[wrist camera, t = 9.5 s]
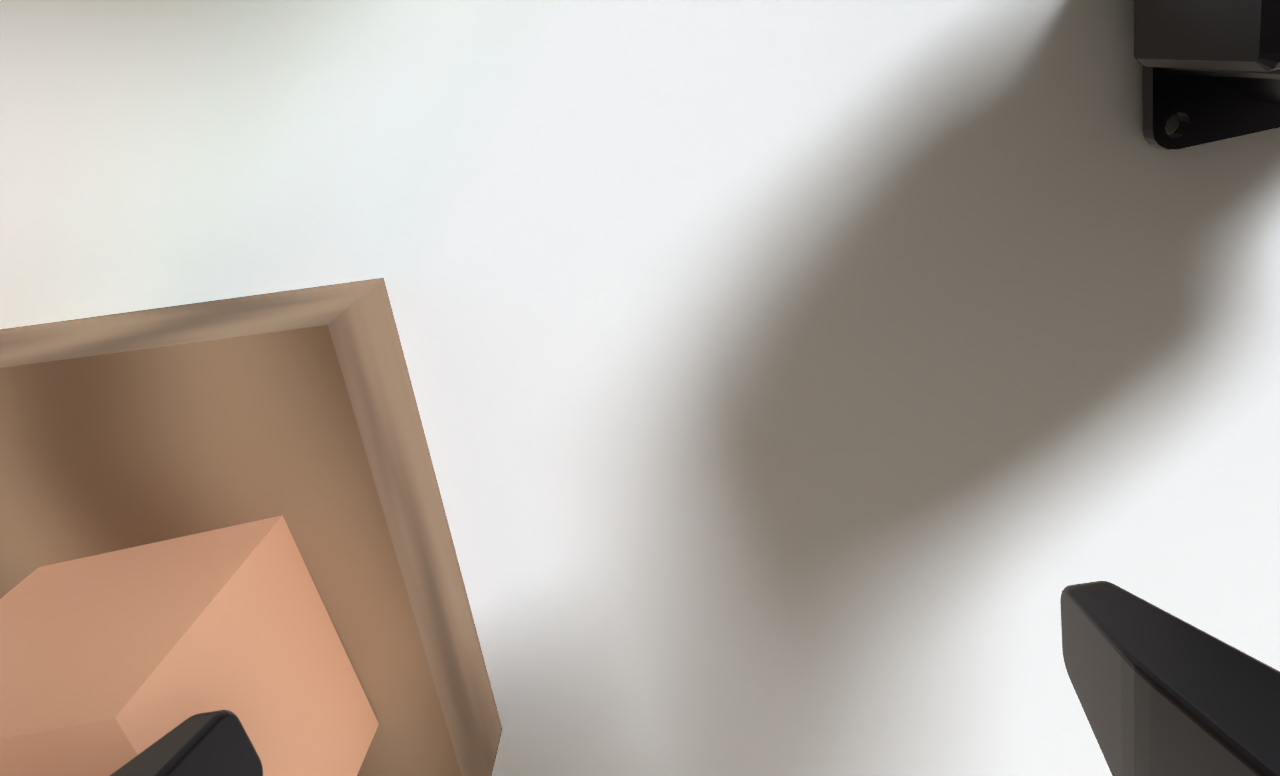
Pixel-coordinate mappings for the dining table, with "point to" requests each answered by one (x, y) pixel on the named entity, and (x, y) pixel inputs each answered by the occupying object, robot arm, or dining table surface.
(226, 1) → the dining table surface
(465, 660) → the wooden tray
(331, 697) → the terracotta cube
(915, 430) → the dining table surface
